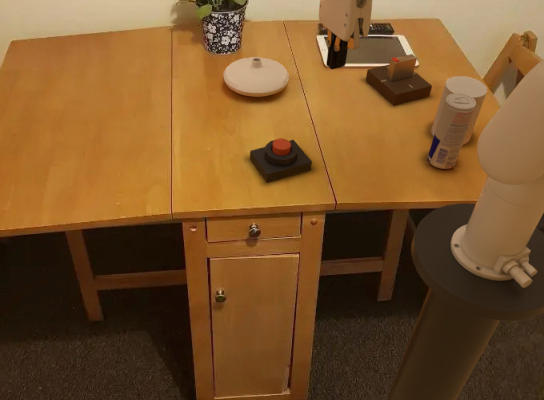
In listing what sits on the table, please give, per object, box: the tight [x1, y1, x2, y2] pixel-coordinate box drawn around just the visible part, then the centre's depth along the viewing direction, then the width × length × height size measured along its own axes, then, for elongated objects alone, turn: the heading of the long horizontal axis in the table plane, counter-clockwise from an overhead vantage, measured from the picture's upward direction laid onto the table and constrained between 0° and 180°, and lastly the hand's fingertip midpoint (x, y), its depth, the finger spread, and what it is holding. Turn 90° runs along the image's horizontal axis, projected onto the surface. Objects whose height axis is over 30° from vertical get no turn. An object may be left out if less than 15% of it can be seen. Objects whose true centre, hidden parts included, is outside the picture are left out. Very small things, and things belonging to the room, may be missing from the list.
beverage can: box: [427, 93, 476, 170], centre depth 115 cm, size 6×6×15 cm
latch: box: [386, 53, 418, 82], centre depth 136 cm, size 6×2×5 cm, turn 112°
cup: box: [430, 75, 488, 146], centre depth 123 cm, size 8×8×12 cm
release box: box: [249, 138, 313, 183], centre depth 118 cm, size 10×8×4 cm
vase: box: [223, 56, 290, 97], centre depth 138 cm, size 16×16×7 cm
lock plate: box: [365, 64, 433, 106], centre depth 139 cm, size 12×10×3 cm
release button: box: [272, 138, 291, 156], centre depth 116 cm, size 4×4×2 cm
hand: (335, 65), depth 110 cm, fingers closed
